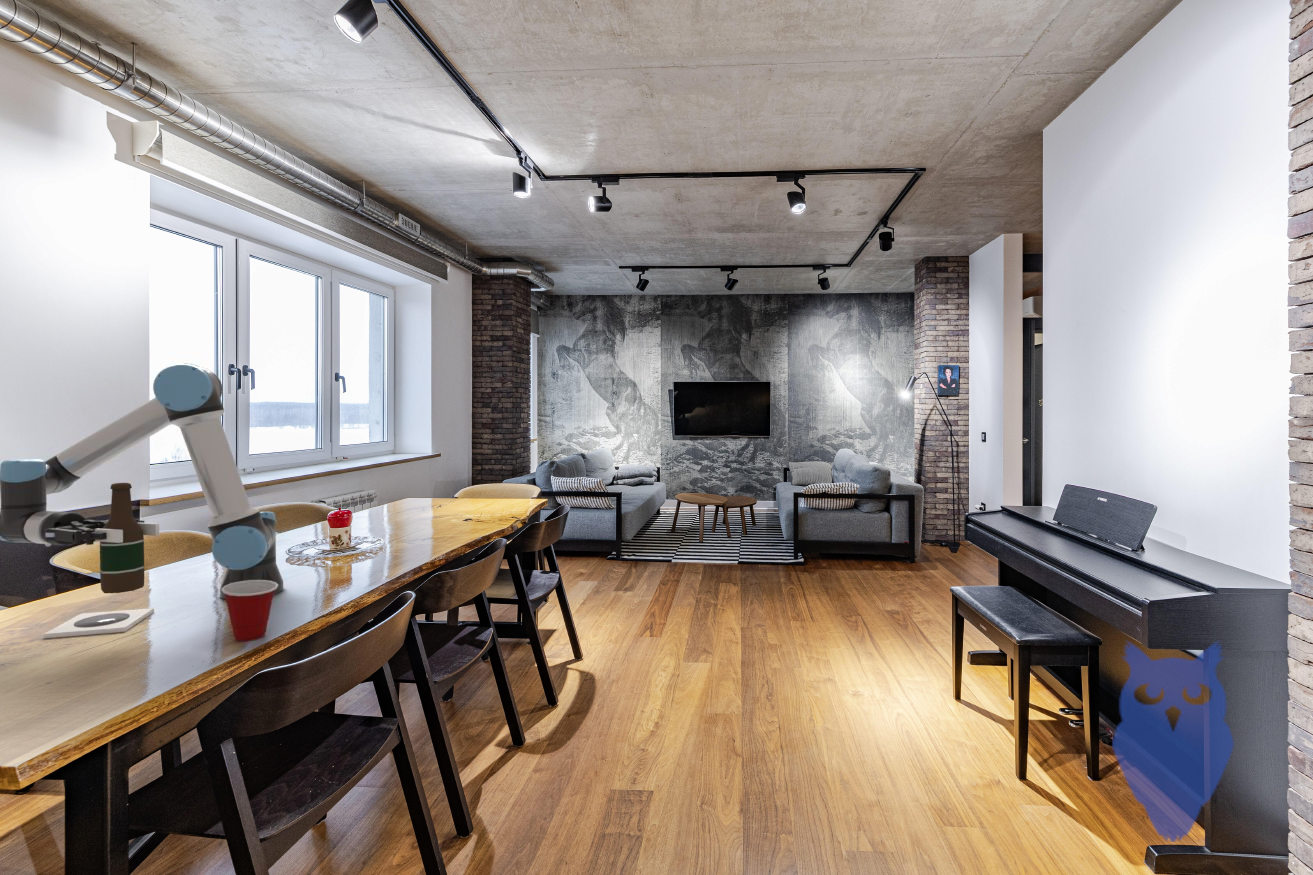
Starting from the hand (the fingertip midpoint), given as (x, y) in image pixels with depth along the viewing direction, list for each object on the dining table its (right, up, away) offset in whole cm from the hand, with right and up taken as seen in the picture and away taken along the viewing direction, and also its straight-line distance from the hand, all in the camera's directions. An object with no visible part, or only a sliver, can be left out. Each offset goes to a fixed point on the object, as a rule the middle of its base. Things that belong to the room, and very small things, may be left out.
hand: (139, 532), depth 138 cm
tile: (-17, -24, +10) cm, 31 cm away
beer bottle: (-5, -13, +1) cm, 14 cm away
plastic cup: (+23, -24, +3) cm, 34 cm away
